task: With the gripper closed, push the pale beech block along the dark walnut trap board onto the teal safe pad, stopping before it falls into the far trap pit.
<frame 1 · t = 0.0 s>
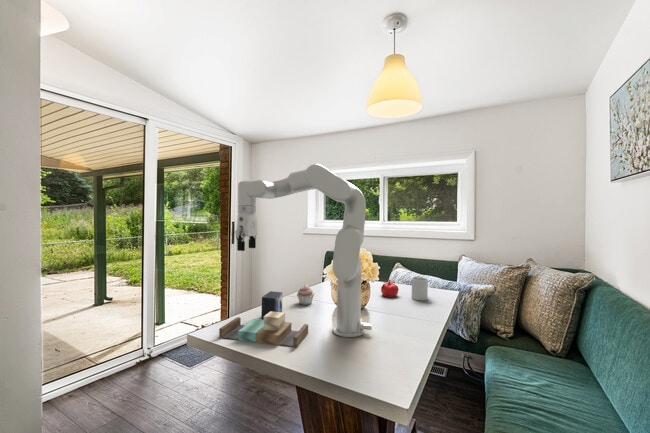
hand: (246, 249, 132), 31 cm above the table, tool pointing down, fingers open, 9 cm apart
small box: (272, 317, 137), on the table
pomegranate: (389, 296, 175), on the table
beech block: (274, 327, 116), point 3 cm above the table, touching trap board
mug: (420, 298, 171), on the table
trap board: (264, 335, 117), on the table
cupcake: (305, 303, 159), on the table
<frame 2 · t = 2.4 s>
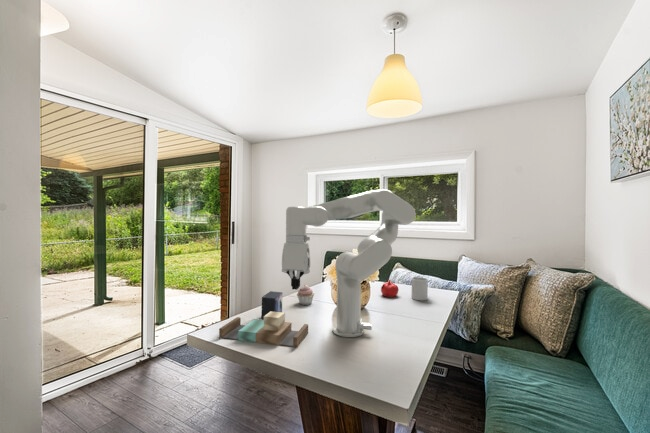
hand: (295, 288, 114), 19 cm above the table, tool pointing down, fingers closed
nothing on the table moved.
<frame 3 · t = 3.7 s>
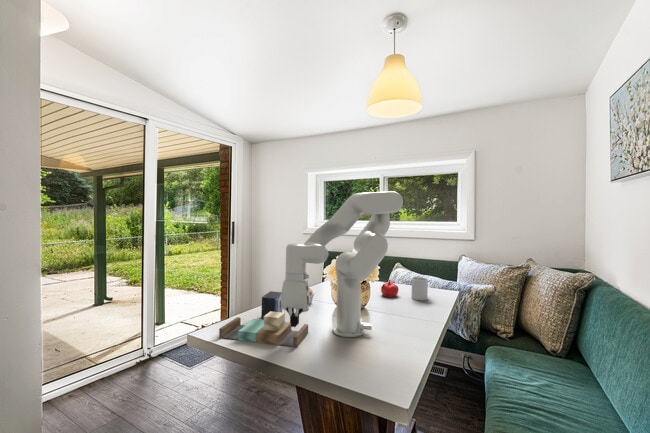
hand: (294, 325, 114), 5 cm above the table, tool pointing down, fingers closed
nothing on the table moved.
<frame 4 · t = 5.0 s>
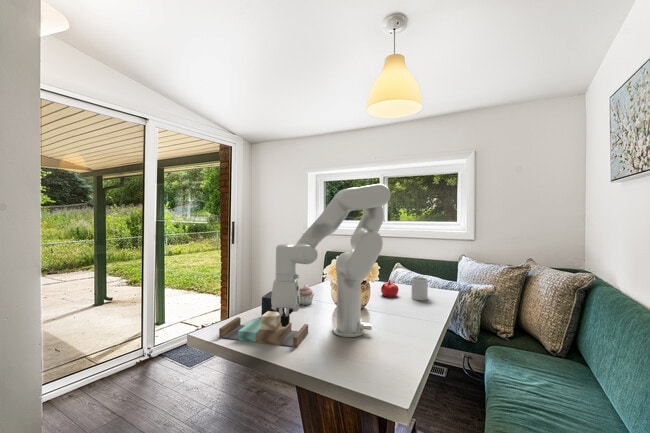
hand: (285, 325, 115), 5 cm above the table, tool pointing down, fingers closed
beech block: (271, 327, 116), point 4 cm above the table, touching gripper, trap board
everything else where it was.
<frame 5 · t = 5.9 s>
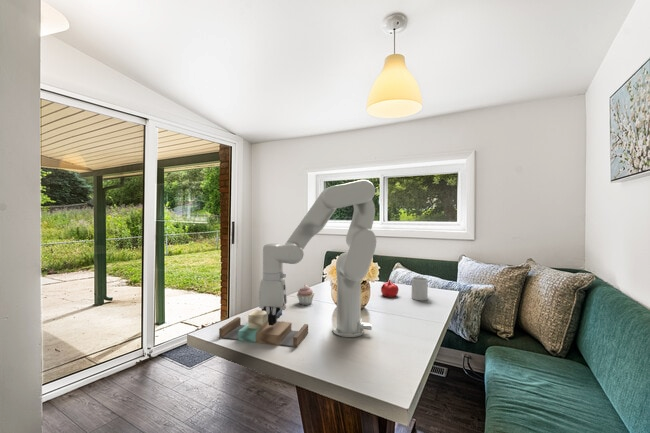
hand: (272, 324, 116), 5 cm above the table, tool pointing down, fingers closed
beech block: (259, 325, 118), point 3 cm above the table, touching gripper, trap board
everything else where it was.
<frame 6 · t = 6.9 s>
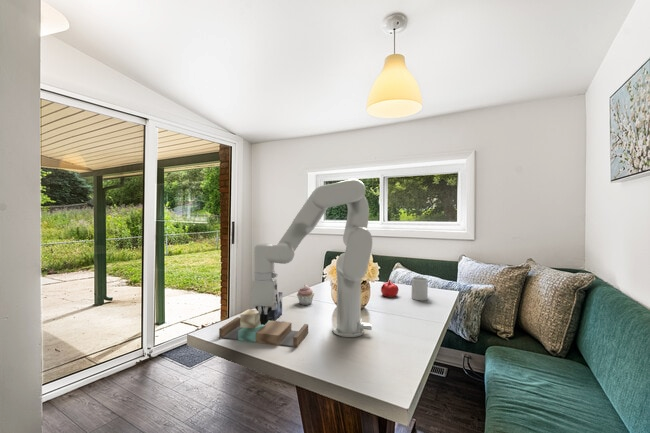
hand: (264, 323, 117), 5 cm above the table, tool pointing down, fingers closed
beech block: (251, 325, 118), point 3 cm above the table, touching gripper, trap board
everything else where it was.
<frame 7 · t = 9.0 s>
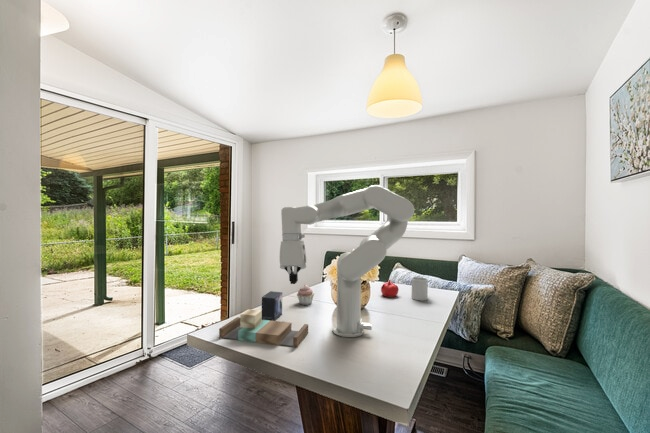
hand: (293, 283, 122), 19 cm above the table, tool pointing down, fingers closed
beech block: (251, 325, 118), point 3 cm above the table, touching trap board
everything else where it was.
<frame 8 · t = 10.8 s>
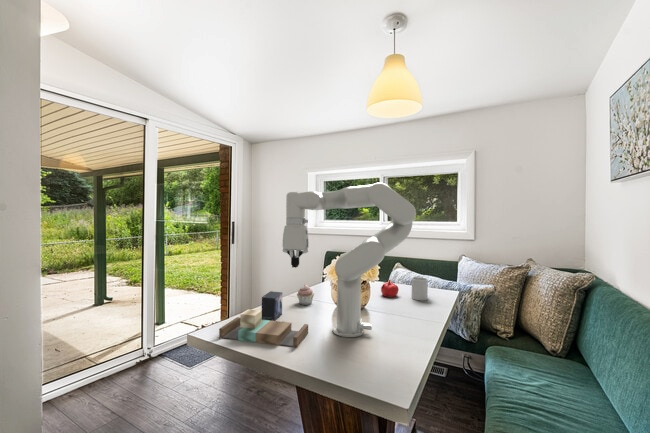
hand: (295, 266, 125), 25 cm above the table, tool pointing down, fingers closed
nothing on the table moved.
at the end: beech block inside the target area (1.1 cm from its centre), point 3.5 cm above the table; beech block tilted 0°; beech block moved 9.6 cm from its start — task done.
